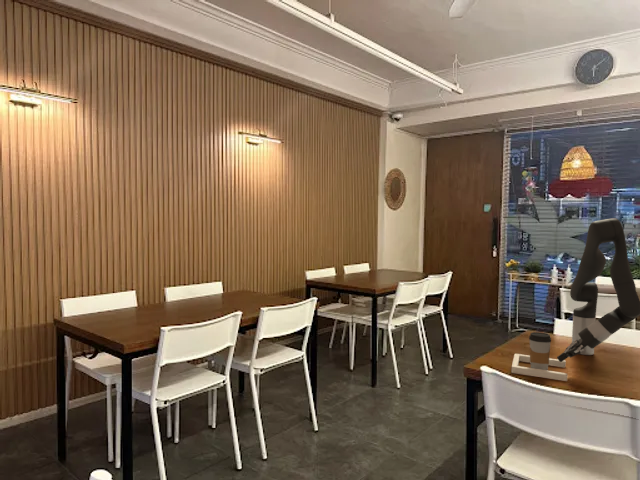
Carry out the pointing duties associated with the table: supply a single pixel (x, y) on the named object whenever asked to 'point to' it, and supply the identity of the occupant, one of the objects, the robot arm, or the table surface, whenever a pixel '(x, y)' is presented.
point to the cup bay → (538, 372)
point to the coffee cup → (539, 350)
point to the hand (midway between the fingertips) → (558, 359)
